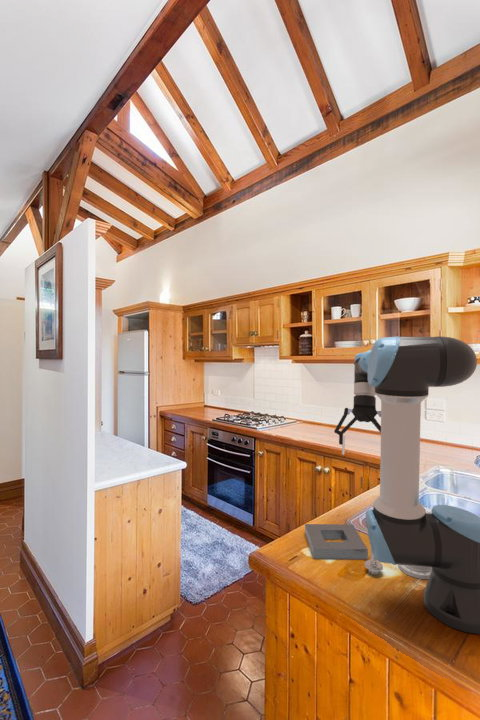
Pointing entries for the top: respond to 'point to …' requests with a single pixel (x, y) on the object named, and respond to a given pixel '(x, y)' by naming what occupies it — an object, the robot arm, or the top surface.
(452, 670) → the top surface
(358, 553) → the socket plate
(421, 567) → the mechanical component
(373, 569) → the screw
